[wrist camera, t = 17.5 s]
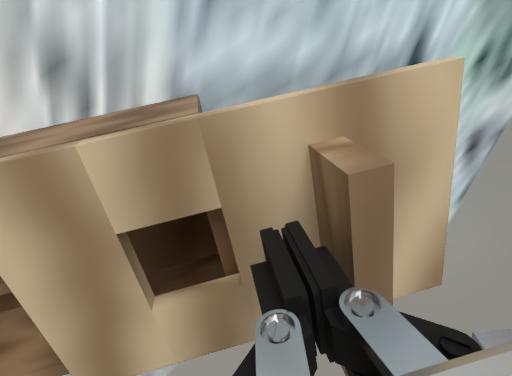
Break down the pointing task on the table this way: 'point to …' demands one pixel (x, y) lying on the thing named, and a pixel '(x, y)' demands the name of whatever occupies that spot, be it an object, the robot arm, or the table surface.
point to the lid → (229, 211)
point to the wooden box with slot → (143, 239)
